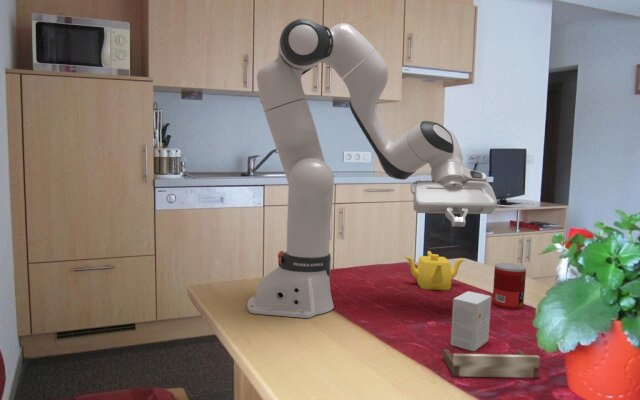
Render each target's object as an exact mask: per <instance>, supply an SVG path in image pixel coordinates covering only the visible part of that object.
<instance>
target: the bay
mask: <svg viewBox="0 0 640 400" xmlns="http://www.w3.org/2000/svg"><path fill="white" fill-rule="evenodd" d="M442 354H443V355H442V359H443V361H444V363H445V364H446V366H447V367H448V369H449V371H450V373H451V374H452V376H453V377H469V378H470V377H472V378H473V377H477V378H479V377H482V378H483V377H484V378H523V379H525V378H526V379H527V378H528V379H530V378H531V379H532V378H533V379H538V378H539V373H540V363H541V361H540V360H541V357H540V356H539V355H537V354H533V355H532V354H526V353H525V352H524V351H523V350H516V354H490V353H489V354H488V353H484V354H483V353H451V351H450V350H449V348H443V352H442Z"/></svg>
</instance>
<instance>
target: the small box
mask: <svg viewBox="0 0 640 400" xmlns="http://www.w3.org/2000/svg"><path fill="white" fill-rule="evenodd" d="M491 306H492V296H491V295H487V294H483V293H479V292H474V291H470V290H468V291H466V292H463V293H462V294H460V295H458V296H456V297H454V298H453V299H452V313H451V314H452V315H451V333H450V336H451V337H450V346H453V347H457V348H461V349H464V350H467V351H471V352H476V351H477V350H478V349H479V348H481V347H483V346H484V345H485V344H487V342H489V335H490V321H491Z"/></svg>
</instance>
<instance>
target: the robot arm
mask: <svg viewBox="0 0 640 400" xmlns="http://www.w3.org/2000/svg"><path fill="white" fill-rule="evenodd" d="M278 41H279V42H278V48H277V49H278V53H277V57H276V59H274V60H273V61H270V62H267V63H265V64H264V65H263V66H261V68H260V69H258V72H257V74H256V82H257V89H258V94H259V97H260V98H259V99H260V102H261V105H262V109H263V112H264V115H265V119H266V122H267V124H268V127H269V130H270V133H271V137H272V139H273V141H274V144H275V148H276V150H277V154H278V157H279V160H280V162H281V165H282V168H283V171H284V174H285V177H286V181H287V183H288V194H287V195H288V197H287V198H288V199H287V200H288V201H287V218H286V219H287V222H286V251H284V250H280V251H279V252H278V254H277V258H278V261H277V263H278V267H276V268H275V269H274V270H272V271H271V272H270V273H268V274H267V275H265V276H264V277H263V278H262V279H261V280H260V281H259V283H258V285H257V287H256V292H255V294H254V295H252V296H251V297H250V298H249V299H248V300H247V304H246V309H247V311H248V312H249V313H251V314H255V315H266V316H277V317H290V318H291V317H292V318H303V319H309V318H312V317H314V316H316V315H322V314H326V313H328V312H331V311H332V310H333V309H334V308H335V307H334V306H335V305H334V302H333V299H332V298H333V297H332V292H331V283H330V281H331V280H330V276H331V271H332V256H331V253H330V240H331V239H330V236H331V235H330V231H331V218H332V217H331V216H332V211H333V210H332V208H333V200H334V198H333V197H334V187H335V186H334V184H335V178H334V176H335V175H334V173H333V171H332V168H331V167H330V166H329V165H328V163H326V161H325V158H324V153H323V151H322V147H321V144H320V143H321V142H320V139H319V135H318V132H317V131H318V130H317V127H316V124H315V121H314V118H313V115H312V112H311V109H310V107H309V104H308V100H307V96H306V94H305V92H304V89H303V88H304V87H303V83H302V77H303V75H305V74H306V73H307V72H310V71H311V70H312V69H313V68H315V66H317V65H318V64H319V63H321V64H325V65H328V66H329V67H330V68H331V69H333V70H334V71H335V72H336V74H337V75H338V76H339V78H340V79H341V80H342V81H343V82H344V84H345V86H346V88H347V90H348V93H349V97H350V98H349V101H348V106H349V109H350V110H351V111H350V112H351V113H352V115H353V117H354V119H355V121H356V122H357V124H358V126H359V128H360V129H361V131H362V132H363V135H364V136H365V137H366V139H367V141H368V142H369V145H371V148H372V149H373V151H374V153H375V154H376V156H377V158H378V161H379V163H380V166H381V167H382V170H383V172H385V174H386V175H387V176H388V177H390V178H393V179H395V180H401V181H404V180H407V179H408V178H410V177H411V176H412V175H413V174H415V173H416V172H417V171H418V170H419V169H421V168H422V167H424V166H425V165H427V164H429V165H428V166H429V167H430V169H431V170H430V176H431V180H419V179H418V180H415V181H414V182H412V183H411V184H410V187H409V188H410V192H411V193H412V195H413V199H412V200H413V201H412V203H413V204H412V205H413V211H415V212H416V213H417V214H445V215H444V216H445V217H446V218H447V219H448V220H449V221H450V223H451V227H460V228H461V227H465V226H466V223H467V222H466V217H467V214H470V215H472V214H474V215H479V214H480V215H484V214H485V215H490V214H491V215H492V214H493V213H494V212H495V210H496V208H497V205H498V201H497V200H498V199H497V197H496V194H495V192H494V190H493V186H492V185H491V184H490V183H489V182H487V179H488V177H487V174H486V173H484V172H482V171H477V170H473V169H470V168H468V167H466V166H465V165H464V163H463V160H464V159H463V154H462V149H461V147H460V144H459V142H458V140H457V138H456V135H455V134H454V132H453V131H451V130H450V129H448V128H446V127H445V126H443V125H442V124H440V123H438V122H434V121H430V120H423V121H421V122H419V123H417V124H416V125H415V126H414V127H412V128H411V129H409V130H408V131H407V132H405V134H403V135H402V136H400V137H399V138H398V139H395V140H394V141H393V140H391V139H390V137H389V136H388V134H387V133H386V131H385V130H384V127H383V126H382V124H381V123H380V121H379V120H378V117H377V114H376V107H377V104H378V101H379V100H380V97H382V96H381V95H382V94H383V92H384V90H385V88H386V86H387V83H388V79H389V68H388V64H387V62H386V61H385V59H384V58H383V56H382V55H381V54H380V52H379V51H377V50H376V48H375V47H374V46H373V44H372V43H371V42H370V41H369V40H368V39H367V38H366V37H365V36H364V34H362V33H361V32H360V31H359V30H357V28H355V27H354V26H352V25H351V24H349V23H346V22H341V23H338V24H335V25H334V26H332V27H330V28H329V27H328V26H326V25H322V24H320V23H318V22H315V21H313V20H310V19H306V18H298V19H294V20H293V21H291V22H289V23H288V24H287V25H285V27H284V28H283V30H282V31H281V33H280V38H279V40H278ZM454 214H459V215H460V216H455V215H454Z"/></svg>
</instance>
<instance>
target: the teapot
mask: <svg viewBox="0 0 640 400" xmlns="http://www.w3.org/2000/svg"><path fill="white" fill-rule="evenodd" d="M403 258H404V259H406V260H407V261H408V264H409V268H410V272H411V274H412V276H413V277H414V278H416V282H417V286H419V288H420V289H422V290H435V291H450V290H451V287H452V279H454V278H455V277H456V276H457V274H458V271H459V268H460V266H461V264H462V262H464V261H465V260H466V258H459V259H457V260H456V261H455V263H454V266H453V267H452V268H451V262H450V260H449V259H447V258H446V257H445V256H440V255H439V254H435V253H432V252H431V250H428V251H427V255H420V256H419V257H418V261H417V267H416V266H415V262H414V261H415V260H414V259H413V258H412V257H411V256H403ZM466 261H467V260H466Z"/></svg>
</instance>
